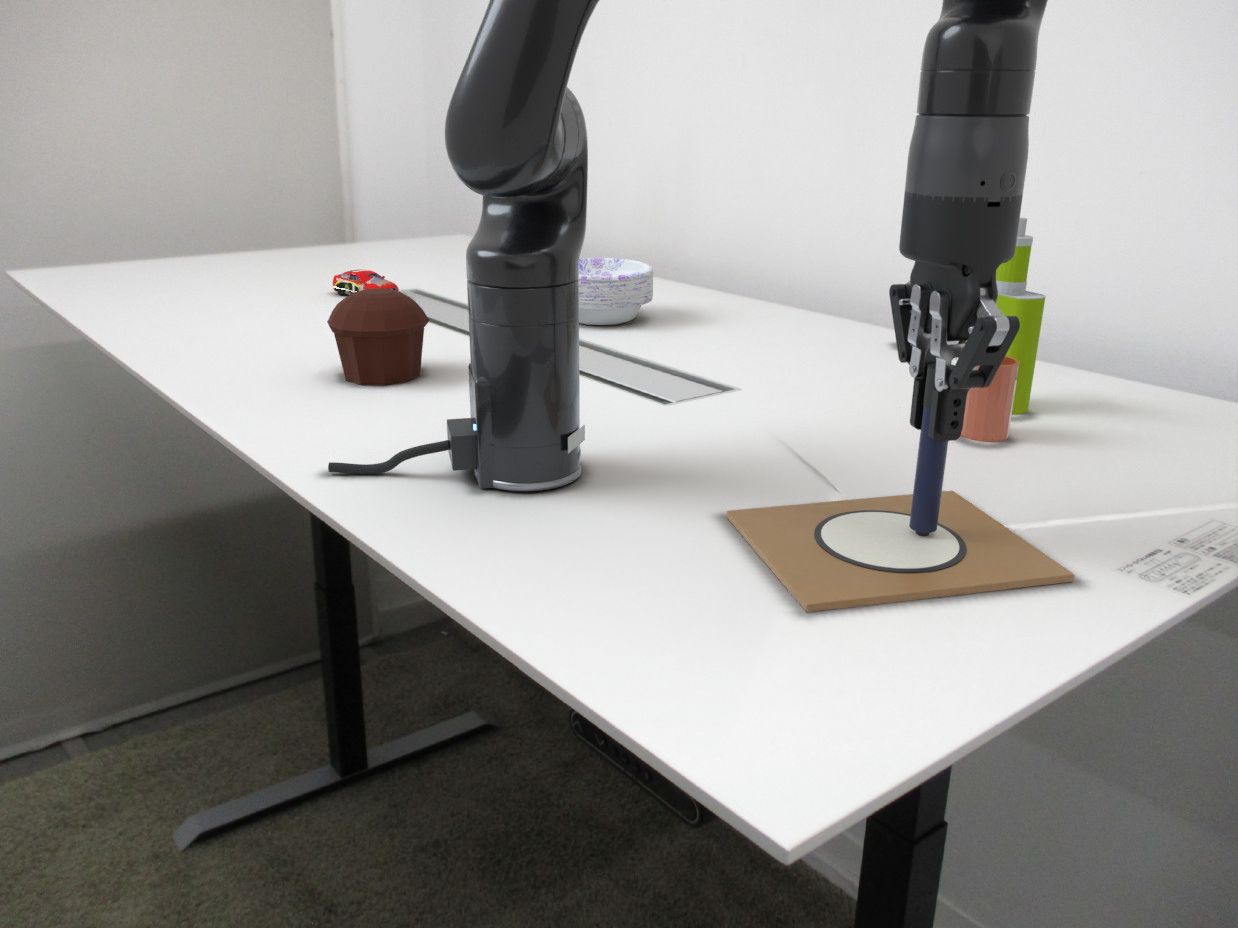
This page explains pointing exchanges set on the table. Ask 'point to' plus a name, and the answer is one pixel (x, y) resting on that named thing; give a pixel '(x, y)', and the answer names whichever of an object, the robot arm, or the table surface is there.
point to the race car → (361, 281)
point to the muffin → (379, 336)
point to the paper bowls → (612, 290)
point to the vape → (1021, 315)
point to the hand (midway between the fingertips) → (934, 432)
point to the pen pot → (992, 405)
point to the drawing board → (890, 552)
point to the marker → (928, 469)
